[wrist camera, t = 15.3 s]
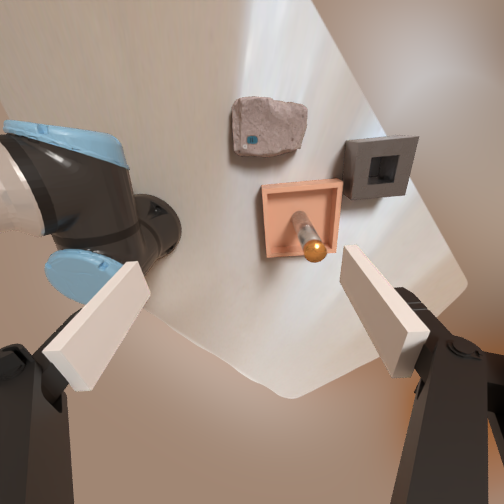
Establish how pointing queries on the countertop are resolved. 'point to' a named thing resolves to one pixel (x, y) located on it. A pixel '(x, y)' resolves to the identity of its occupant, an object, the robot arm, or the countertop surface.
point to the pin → (308, 237)
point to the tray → (309, 201)
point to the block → (391, 168)
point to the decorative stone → (267, 126)
